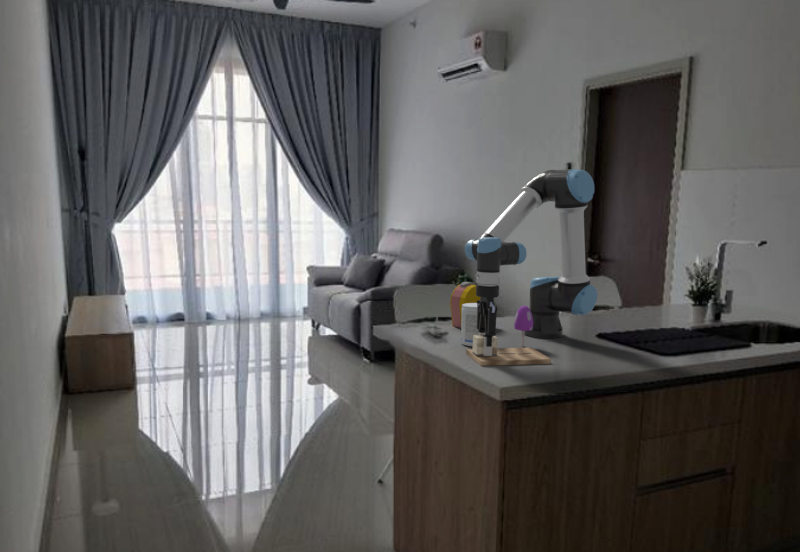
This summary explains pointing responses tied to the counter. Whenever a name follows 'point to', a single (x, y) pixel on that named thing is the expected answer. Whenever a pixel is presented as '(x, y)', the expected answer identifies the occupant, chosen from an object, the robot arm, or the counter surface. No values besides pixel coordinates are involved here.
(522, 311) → the toy
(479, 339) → the block
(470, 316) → the supplement tub
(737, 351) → the counter surface
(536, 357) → the board
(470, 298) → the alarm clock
